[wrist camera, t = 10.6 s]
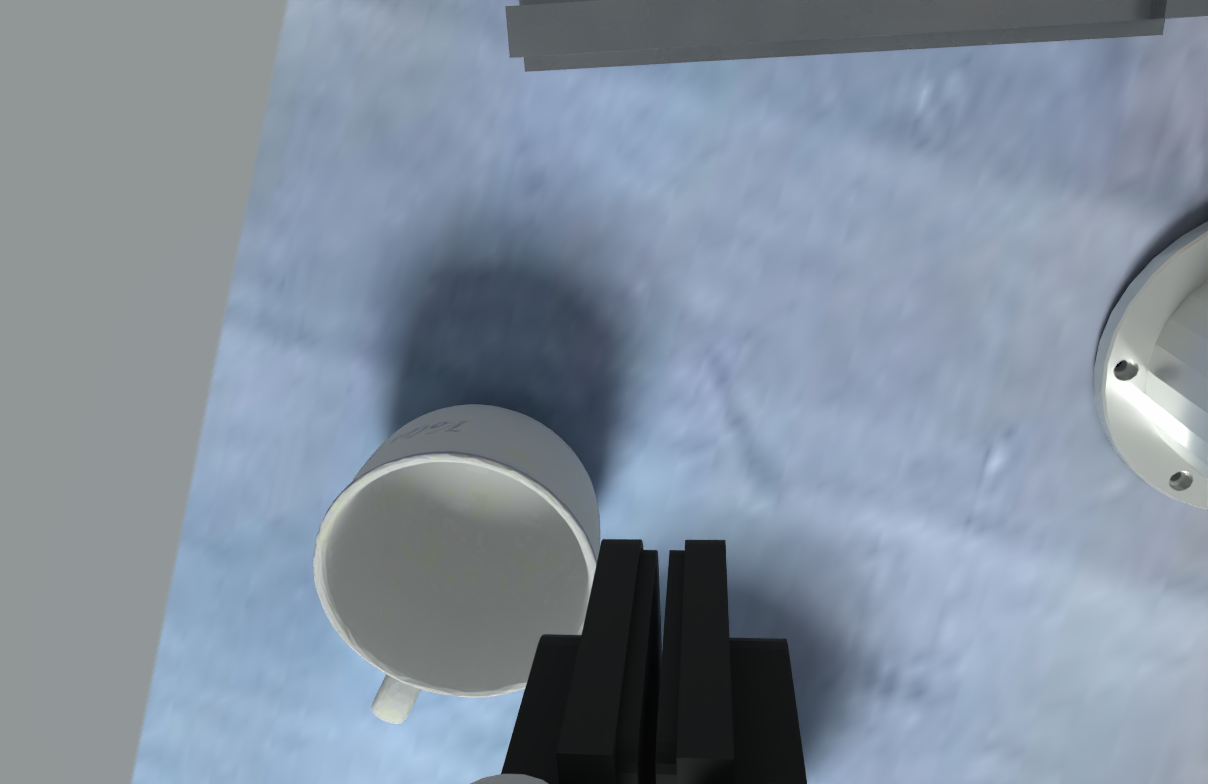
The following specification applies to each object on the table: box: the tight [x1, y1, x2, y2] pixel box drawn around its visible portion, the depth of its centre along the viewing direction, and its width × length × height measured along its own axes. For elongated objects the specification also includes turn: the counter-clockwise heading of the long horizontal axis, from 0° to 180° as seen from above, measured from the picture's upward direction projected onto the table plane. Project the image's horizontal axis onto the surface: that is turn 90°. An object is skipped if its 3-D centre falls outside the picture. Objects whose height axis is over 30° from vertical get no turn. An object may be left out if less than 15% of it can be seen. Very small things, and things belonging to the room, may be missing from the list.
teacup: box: [313, 404, 600, 724], centre depth 37 cm, size 14×11×8 cm
